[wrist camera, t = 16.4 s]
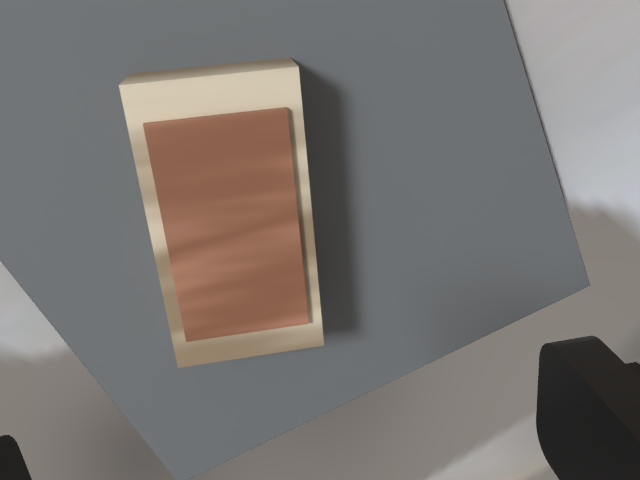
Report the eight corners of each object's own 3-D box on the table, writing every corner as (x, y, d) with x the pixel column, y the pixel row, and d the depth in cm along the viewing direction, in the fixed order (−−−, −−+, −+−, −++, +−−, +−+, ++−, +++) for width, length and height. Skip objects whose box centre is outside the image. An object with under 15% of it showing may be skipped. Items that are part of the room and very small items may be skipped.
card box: (325, 349, 27) (299, 67, 22) (177, 371, 26) (117, 87, 21) (314, 311, 30) (290, 57, 25) (181, 331, 29) (130, 73, 24)
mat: (360, -446, 20) (363, -459, 19) (583, 280, 32) (590, 285, 32) (-277, -99, 21) (-290, -101, 20) (179, 475, 33) (179, 483, 33)
